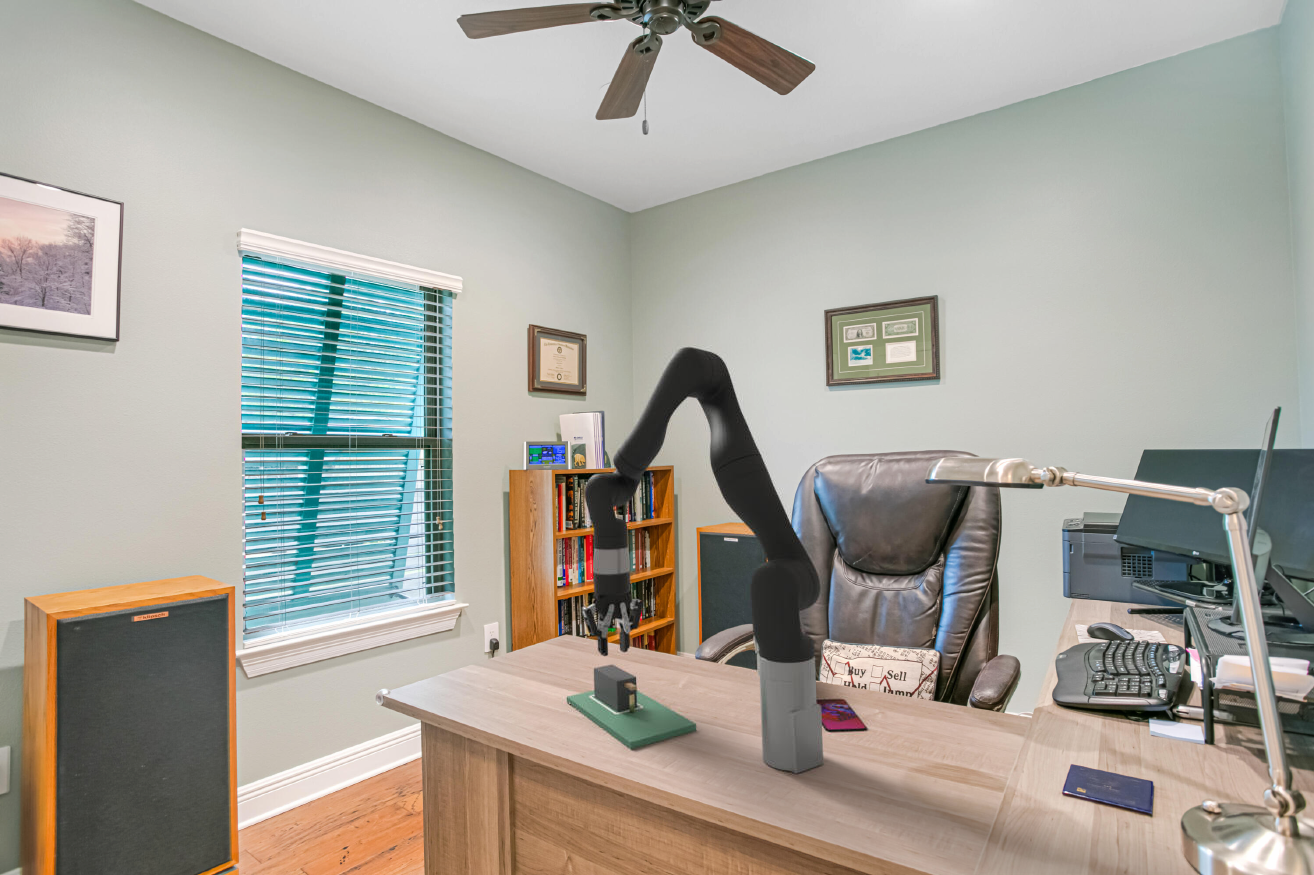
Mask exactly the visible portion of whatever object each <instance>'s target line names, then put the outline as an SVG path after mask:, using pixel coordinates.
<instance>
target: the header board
mask: <svg viewBox="0 0 1314 875" xmlns="http://www.w3.org/2000/svg"><path fill="white" fill-rule="evenodd" d="M567 702H568V703H570V704H571V705H572V706H573V707H572V706H571V705H570V704H569V705H570V706H571V707H572V708H574V707H575V708H576V709H577V710H576V709H575V708H574V709H575V710H576V711H578V710H579V711H580V712H581V713H580V712H579V711H578V712H579V713H580V714H582V715H583V714H584V715H583V716H585V717H586V718H587V719H588V720H590V721H591V720H592V721H591V722H593V723H594V724H596V725H597V726H598V725H599V726H598V727H599V728H601V729H602V728H603V729H602V730H604V731H605V730H606V731H607V733H608V734H609V735H611V736H612V737H613V738H615V739H616V740H618V741H619V742H620V743H621V744H623V745H624V746H626V748H628V749H630V750H633V749H635V748H639V747H642V746H647V745H650V744H653V743H657V742H658V743H659V742H661V741H664V740H666V739H670V738H674V737H678V736H681V735H685V734H689V733H693V732H696V731H697V723H696V722H694V721H692V720H691V719H688V718H687V717H686V716H684V715H681V714H680V713H677V712H676V711H675V710H672V709H671V708H669V707H668V706H665V705H664V704H662V703H660V702H659V701H656V700H655V699H653V698H651V697H649V696H648V695H646V694H645V693H643V692H640V691H639V690H637V707H636V708H635V713H630V709H628V710H624V711H620V712H617V711H615V710H614V709H612V708H611V707H609V706H607V705H606V704H604V703H603V702H601V701H600V700H598V699H597V698H595V696H594V690H590V691H586V692H581V693H576V694H572V695H569V696H568V695H567V696H566V703H567ZM568 703H567V704H568ZM606 731H605V732H606Z"/></svg>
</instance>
